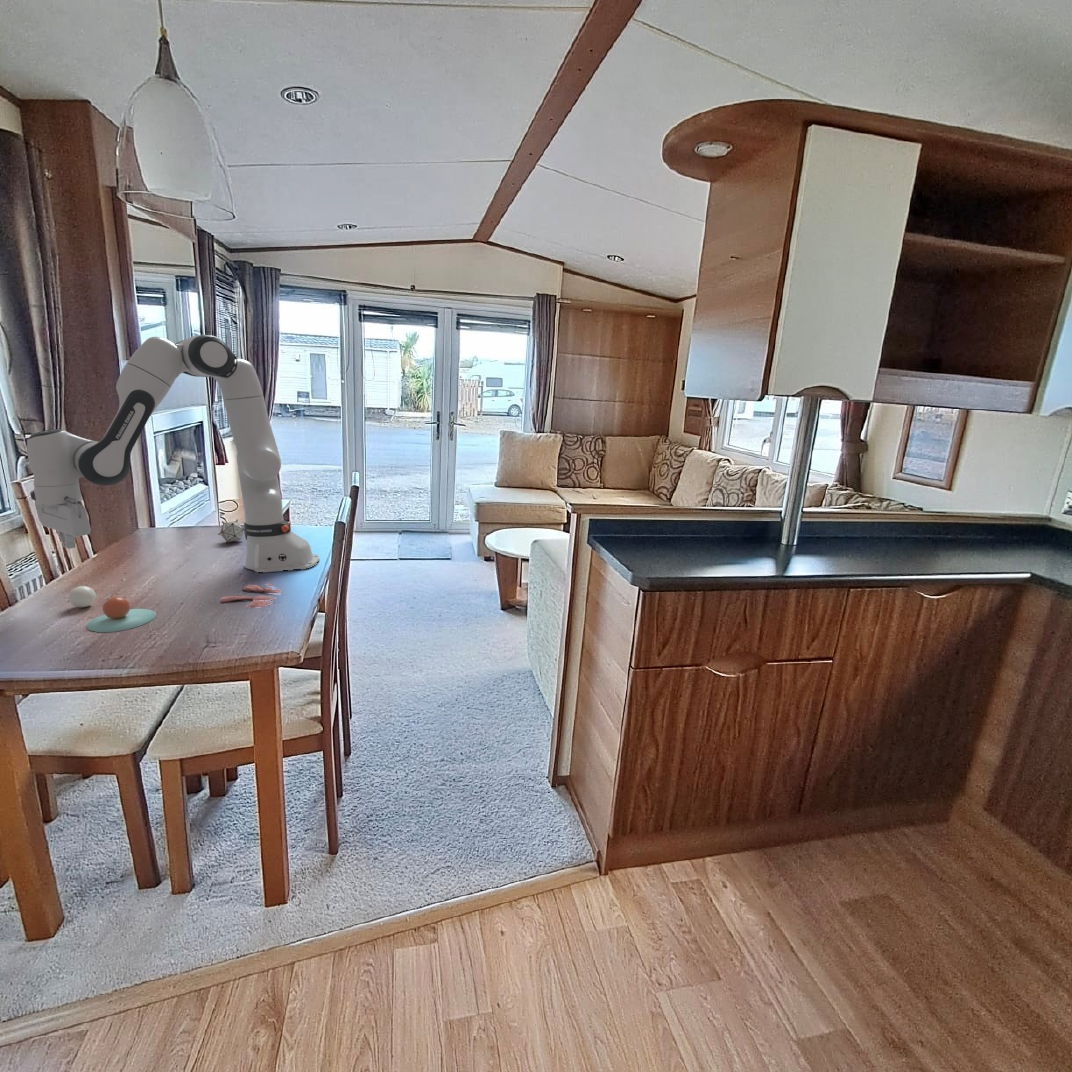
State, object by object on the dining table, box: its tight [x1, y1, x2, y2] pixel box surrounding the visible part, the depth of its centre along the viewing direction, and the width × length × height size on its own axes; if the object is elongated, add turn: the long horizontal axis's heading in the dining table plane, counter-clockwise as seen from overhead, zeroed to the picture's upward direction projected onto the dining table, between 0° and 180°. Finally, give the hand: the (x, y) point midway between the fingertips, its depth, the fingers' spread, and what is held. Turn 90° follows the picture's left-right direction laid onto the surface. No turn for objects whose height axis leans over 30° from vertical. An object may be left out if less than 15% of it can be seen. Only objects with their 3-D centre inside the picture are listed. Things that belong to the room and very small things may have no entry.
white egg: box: [68, 585, 97, 608], centre depth 148 cm, size 6×6×6 cm
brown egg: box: [102, 596, 131, 619], centre depth 142 cm, size 6×6×6 cm
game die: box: [217, 519, 244, 545], centre depth 209 cm, size 9×8×10 cm
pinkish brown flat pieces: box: [220, 582, 283, 608], centre depth 160 cm, size 20×22×2 cm
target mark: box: [86, 608, 157, 633], centre depth 141 cm, size 14×14×1 cm
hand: (69, 547), depth 149 cm, fingers closed
